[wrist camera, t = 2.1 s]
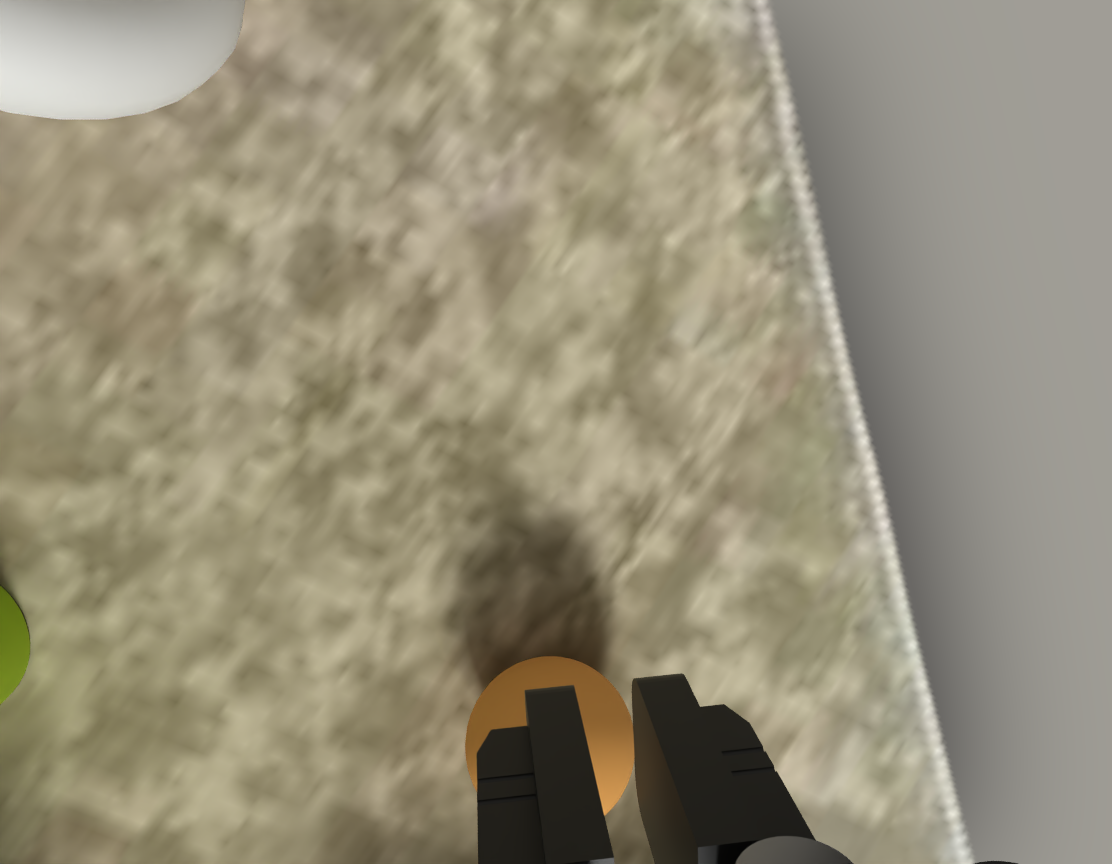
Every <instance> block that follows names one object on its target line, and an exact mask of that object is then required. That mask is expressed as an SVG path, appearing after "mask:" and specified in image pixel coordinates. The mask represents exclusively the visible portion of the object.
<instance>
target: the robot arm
mask: <svg viewBox="0 0 1112 864" xmlns="http://www.w3.org/2000/svg"><path fill="white" fill-rule="evenodd" d="M525 708H526V721H527V726H519V727H510V728H501V729H492V730H490V732H489V734H488V735H487V737H486V739H485V740H484V742H483V744H482V745H481V747H480V748H479V750H478V752H477V802H478V806H477V810H478V864H614V856H613V852H612V847H611V843H610V839H609V834H608V830H607V826H606V821H605V817H604V813H603V808H602V804H601V800H600V795H599V791H598V786H597V782H596V778H595V773H594V769H593V765H592V760H591V756H590V752H589V747H588V743H587V739H586V734H585V730H584V726H583V721H582V717H581V713H580V708H579V704H578V700H577V695H576V691H575V687H574V685H568V686H558V687H548V688H539V689H529V690H525ZM632 709H633V734H634V759H635V778H636V788H637V795H638V802H639V807H640V812H641V817H642V821H643V824H644V828H645V831H646V834H647V838H648V841H649V845H650V848H651V851H652V855H653V858H654V862H655V864H853V863H852V862H851V861H850V860H849V859H848V858H847V857H846V856H844V855H843V854H842V853H840V852H839V851H837V850H836V849H834V848H832V847H830V846H828V845H826V844H823V843H821V842H819V841H816V840H815V838H814V836H813V835H812V833H811V831H810V829H809V827H808V826H807V824H806V822H805V820H804V819H803V817H802V815H801V813H800V812H799V810H798V808H797V806H796V804H795V803H794V801H793V799H792V797H791V796H790V794H789V792H788V790H787V788H786V787H785V785H784V783H783V781H782V780H781V778H780V776H779V774H778V773H777V771H776V772H775V770H774V765H773V764H772V762H771V760H770V758H769V757H768V755H767V753H766V751H765V752H764V751H763V746H762V744H761V742H760V741H759V739H758V737H757V735H756V734H755V732H754V730H753V728H752V726H751V725H750V723H749V722H747V721H746V720H745V719H743V718H742V717H741V716H739V715H738V714H736V713H735V712H734V711H732V710H731V709H730V708H728V707H727V706H726V705H724V704H723V705H713V706H704V707H700V706H699V704H698V702H697V700H696V698H695V696H694V694H693V692H692V689H691V687H690V685H689V683H688V681H687V679H686V677H685V675H684V674H672V675H663V676H653V677H644V678H634V679H633V682H632ZM975 864H1017V863H1011V862H1004V861H987V862H979V863H975Z"/></svg>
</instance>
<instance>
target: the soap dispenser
mask: <svg viewBox="0 0 1112 864" xmlns="http://www.w3.org/2000/svg"><path fill="white" fill-rule="evenodd" d="M29 655H30V638H29V632H28V628H27V625H26V622H25V619H24V617H23V615H22V613H21V611H20V609H19V607H18V606H17V604H16V603H15V601H14V600H13V598H12V597H11V596H10V595H9V594H8V593H7V591H6V590H5V589H4V588H3V587H1V586H0V705H1V704H2V703H3V701H4V700H5V699H6V698H7V697H8V696H9V695H10V694H11V693H12V692H13V691H14V690H15V688H16V687H17V686H18V684H19V683H20V681H21V679H22V678H23V676H24V673H25V671H26V668H27V665H28V661H29Z"/></svg>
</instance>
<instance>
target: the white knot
mask: <svg viewBox="0 0 1112 864" xmlns="http://www.w3.org/2000/svg"><path fill="white" fill-rule="evenodd" d="M244 6H245V0H0V111H4V112H9V113H15V114H22V115H30V116H38V117H46V118H53V119H111V118H117V117H124V116H130V115H136V114H143V113H147V112H150V111H153V110H155V109H158V108H161V107H164V106H166V105H169V104H172V103H175V102H177V101H179V100H180V99H182V98H183V97H185V96H186V95H188V94H189V93H191V92H192V91H194V90H195V89H197V88H198V87H200V86H201V85H202V84H203V83H205V82H206V81H207V80H208V79H209V78H210V77H211V76H212V75H214V74H215V73H216V72H217V71H218V70H219V69H220V68H221V66H222V65H223V64H224V63H225V61H226V60H227V59H228V57H229V56H230V55H231V54H232V52H233V51H234V50H235V47H236V43H237V40H238V37H239V34H240V31H241V28H242V21H243V14H244Z"/></svg>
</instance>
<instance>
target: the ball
mask: <svg viewBox="0 0 1112 864" xmlns="http://www.w3.org/2000/svg"><path fill="white" fill-rule="evenodd" d="M568 685H574V687H575V691H576V695H577V700H578V704H579V708H580V713H581V717H582V721H583V726H584V730H585V734H586V739H587V743H588V747H589V752H590V756H591V760H592V765H593V769H594V773H595V778H596V782H597V786H598V791H599V795H600V800H601V804H602V808H603V813H604V816H605V815H606V814H607V813H608V812H609V811H610V810H611V809H612V808H613V807H614V805H615V804H616V803H617V802H618V800H619V799H620V797H621V796H622V794H623V792H624V790H625V788H626V786H627V784H628V782H629V779H630V776H631V773H632V769H633V764H634V734H633V724H632V720H631V717H630V714H629V712H628V709H627V707H626V705H625V703H624V700H623V699H622V697H621V696H620V694H619V692H618V691H617V690H616V689H615V687H614V686H613V685H612V684H611V683H610V682H609V680H607V679H606V678H605V677H604V676H603V675H602V674H600V673H599V672H598V671H596V670H595V669H593V668H592V667H590V666H588V665H586V664H584V663H582V662H579V661H576V660H573V659H569V658H564V657H557V656H542V657H536V658H531V659H528V660H524V661H522V662H519V663H517V664H515V665H513V666H511V667H510V668H508V669H506V670H505V671H503V672H502V673H501V674H499V675H498V676H497V677H496V678H495V679H494V680H492V681H491V682H490V683H489V685H488V686H487V687H486V688H485V690H484V691H483V692H482V694H481V695H480V697H479V699H478V700H477V702H476V704H475V706H474V708H473V711H472V713H471V716H470V719H469V723H468V726H467V733H466V742H465V750H466V761H467V767H468V771H469V774H470V777H471V780H472V783H473V785H474V787H475V789H476V791H477V752H478V750H479V748H480V747H481V745H482V744H483V742H484V740H485V739H486V737H487V735H488V734H489V732H490V730H492V729H501V728H510V727H519V726H527V721H526V708H525V690H529V689H539V688H548V687H558V686H568Z"/></svg>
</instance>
